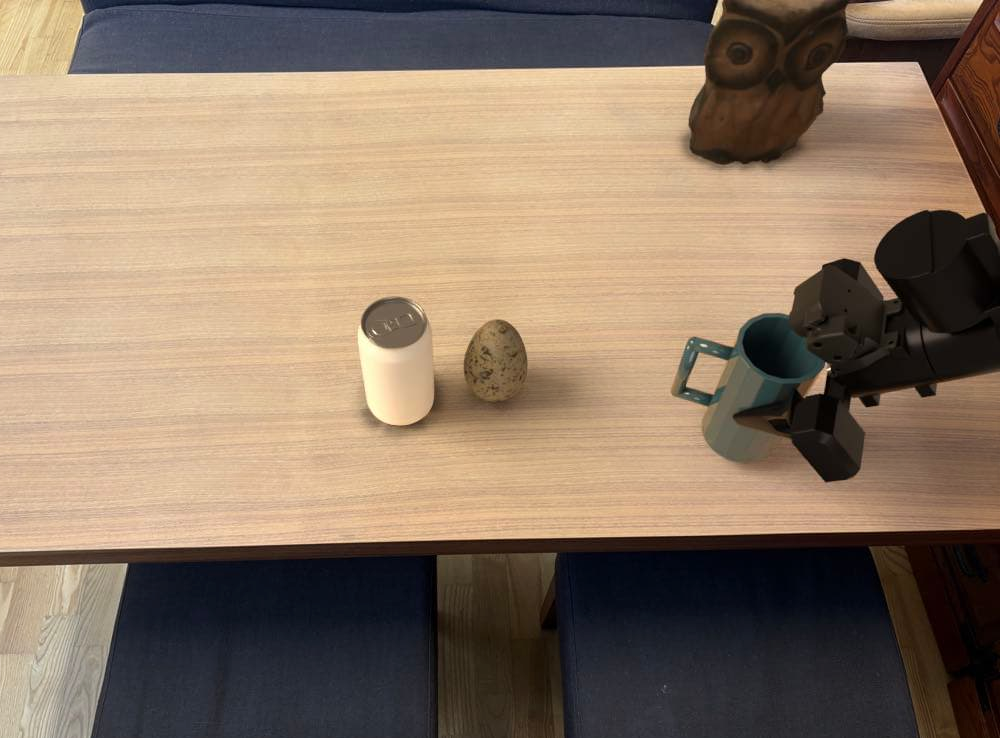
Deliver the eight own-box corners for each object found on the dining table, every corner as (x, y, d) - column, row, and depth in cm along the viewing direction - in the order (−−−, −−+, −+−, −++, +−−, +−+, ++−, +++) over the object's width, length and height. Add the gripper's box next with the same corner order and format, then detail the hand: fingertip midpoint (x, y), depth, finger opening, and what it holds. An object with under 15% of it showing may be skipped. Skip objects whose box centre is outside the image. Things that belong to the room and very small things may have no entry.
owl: (810, 146, 102) (881, -13, 85) (744, 195, 97) (806, 37, 80) (727, 95, 107) (779, -65, 90) (661, 139, 102) (702, -21, 85)
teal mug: (783, 411, 79) (832, 326, 68) (770, 473, 76) (819, 394, 65) (672, 379, 81) (703, 291, 70) (655, 437, 78) (684, 354, 67)
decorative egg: (515, 359, 84) (522, 294, 76) (531, 409, 81) (540, 346, 73) (457, 370, 84) (457, 305, 75) (470, 420, 80) (473, 358, 72)
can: (357, 384, 83) (344, 305, 72) (419, 363, 84) (415, 283, 74) (381, 437, 79) (370, 362, 69) (444, 414, 81) (444, 338, 71)
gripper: (900, 180, 63) (714, 247, 74) (874, 374, 53) (665, 416, 64) (960, 280, 68) (777, 328, 79) (946, 473, 58) (741, 496, 70)
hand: (742, 385), depth 73 cm, fingers closed on teal mug, 7 cm apart
